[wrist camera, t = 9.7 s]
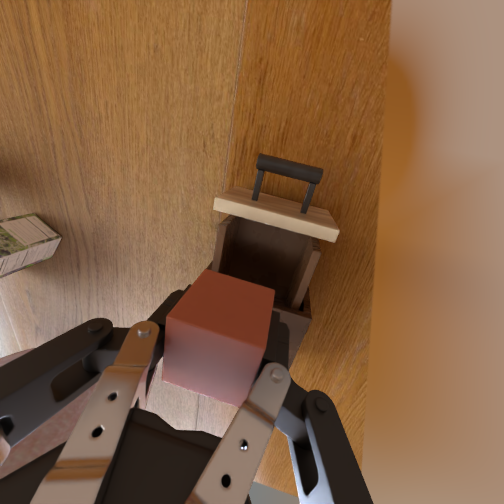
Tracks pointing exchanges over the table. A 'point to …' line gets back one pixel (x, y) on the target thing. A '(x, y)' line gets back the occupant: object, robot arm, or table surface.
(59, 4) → the table surface
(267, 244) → the drawer
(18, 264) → the syrup box
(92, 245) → the table surface
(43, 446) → the plant pot
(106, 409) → the robot arm
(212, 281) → the block
